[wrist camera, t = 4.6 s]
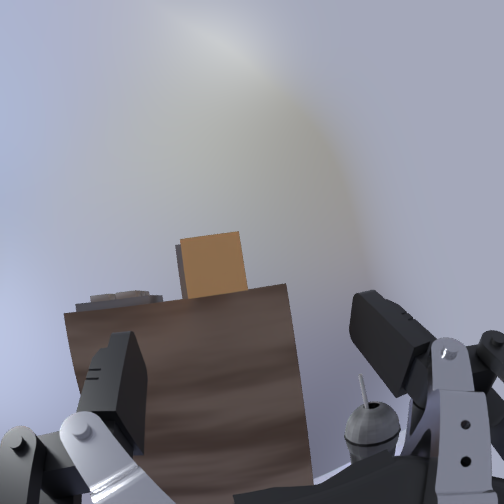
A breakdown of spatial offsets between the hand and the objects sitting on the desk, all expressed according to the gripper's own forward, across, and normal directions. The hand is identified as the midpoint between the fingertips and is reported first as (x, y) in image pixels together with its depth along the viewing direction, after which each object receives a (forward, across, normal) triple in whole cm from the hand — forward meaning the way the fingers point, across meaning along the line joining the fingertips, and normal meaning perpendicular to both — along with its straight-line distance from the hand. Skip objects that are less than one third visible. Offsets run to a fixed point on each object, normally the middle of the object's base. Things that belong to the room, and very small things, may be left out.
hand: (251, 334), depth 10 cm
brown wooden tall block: (-2, -4, -34) cm, 34 cm away
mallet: (+9, -1, -3) cm, 10 cm away
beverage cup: (+2, +15, -36) cm, 39 cm away
